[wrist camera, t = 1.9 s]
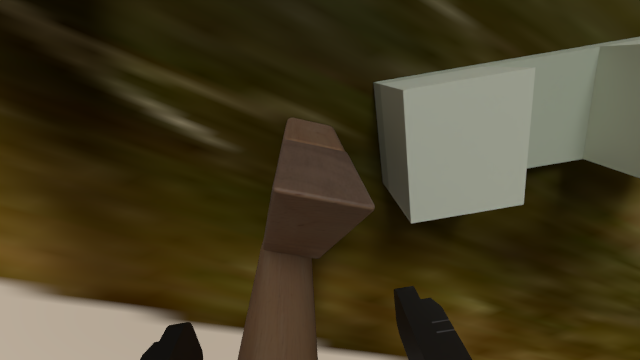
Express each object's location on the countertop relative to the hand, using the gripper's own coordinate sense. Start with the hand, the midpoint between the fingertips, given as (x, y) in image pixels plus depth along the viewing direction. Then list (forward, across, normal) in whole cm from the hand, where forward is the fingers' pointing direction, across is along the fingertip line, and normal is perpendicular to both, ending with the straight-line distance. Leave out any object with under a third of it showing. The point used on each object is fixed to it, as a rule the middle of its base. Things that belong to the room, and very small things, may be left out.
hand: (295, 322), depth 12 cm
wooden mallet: (+14, 0, 0) cm, 14 cm away
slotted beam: (+14, -18, -3) cm, 23 cm away
